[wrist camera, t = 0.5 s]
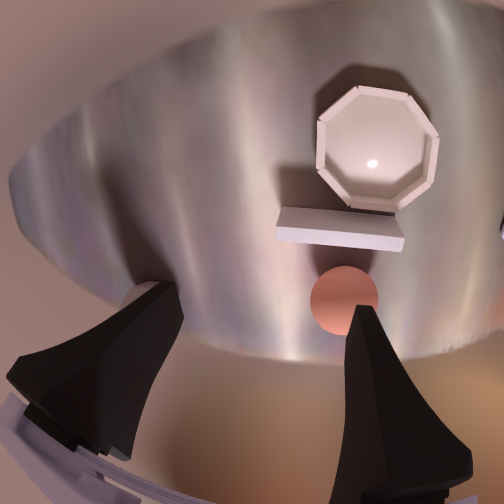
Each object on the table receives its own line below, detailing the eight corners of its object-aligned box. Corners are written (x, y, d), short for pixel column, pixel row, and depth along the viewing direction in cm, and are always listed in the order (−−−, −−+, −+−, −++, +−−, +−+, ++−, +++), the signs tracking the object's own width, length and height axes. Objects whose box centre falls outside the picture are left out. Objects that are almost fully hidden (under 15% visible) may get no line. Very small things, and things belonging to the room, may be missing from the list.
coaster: (433, 100, 13) (442, 101, 11) (419, 207, 17) (425, 216, 16) (317, 82, 14) (317, 81, 13) (314, 196, 18) (314, 204, 17)
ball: (379, 255, 20) (390, 300, 15) (366, 304, 22) (371, 350, 18) (315, 249, 21) (311, 294, 16) (309, 299, 23) (304, 345, 19)
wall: (394, 216, 18) (405, 238, 15) (392, 229, 18) (401, 252, 16) (282, 206, 19) (275, 226, 17) (282, 219, 20) (275, 240, 17)
